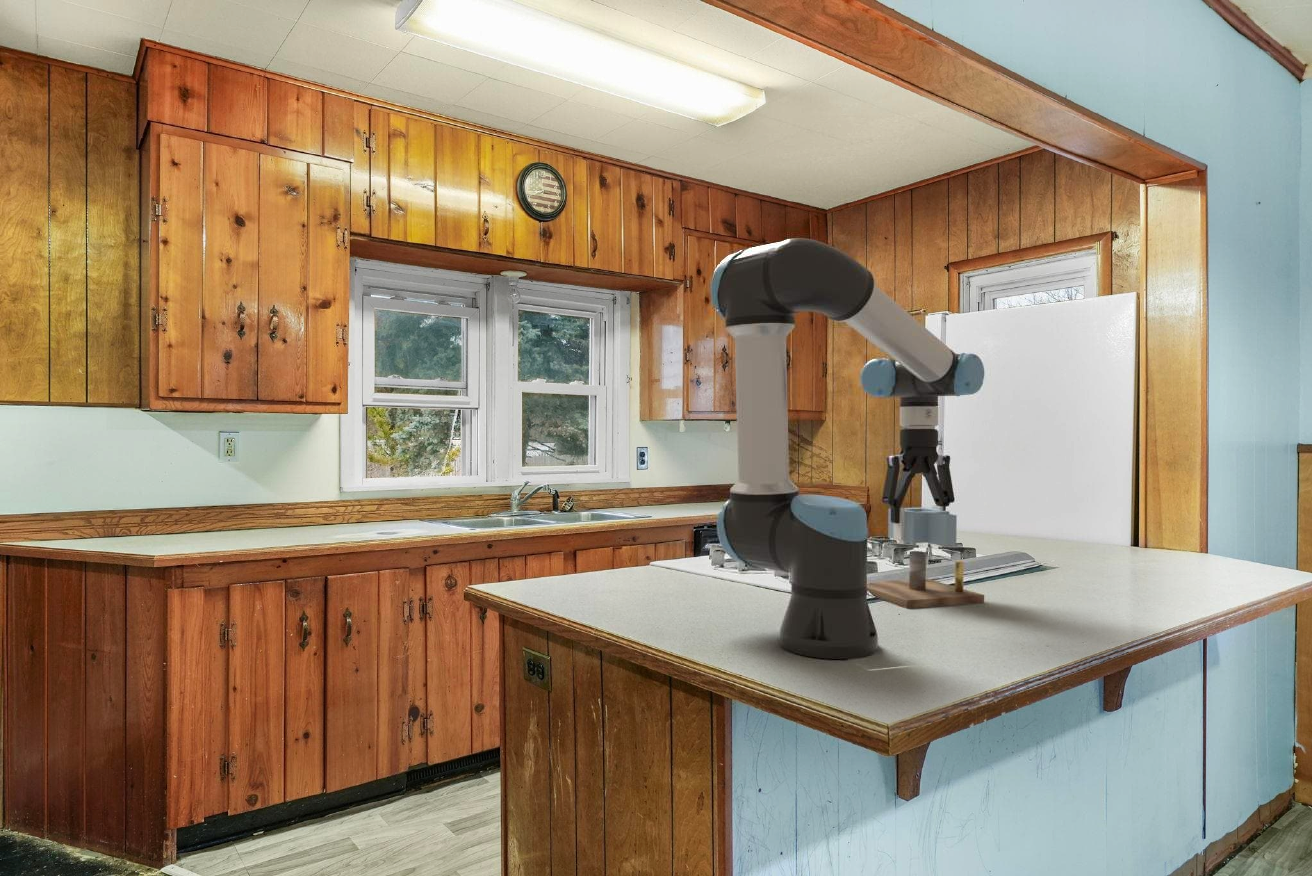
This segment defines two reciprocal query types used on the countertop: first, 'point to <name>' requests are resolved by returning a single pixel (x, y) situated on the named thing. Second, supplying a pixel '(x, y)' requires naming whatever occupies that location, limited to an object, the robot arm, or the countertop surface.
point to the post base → (922, 596)
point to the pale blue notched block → (927, 526)
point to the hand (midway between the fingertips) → (918, 538)
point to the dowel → (959, 576)
